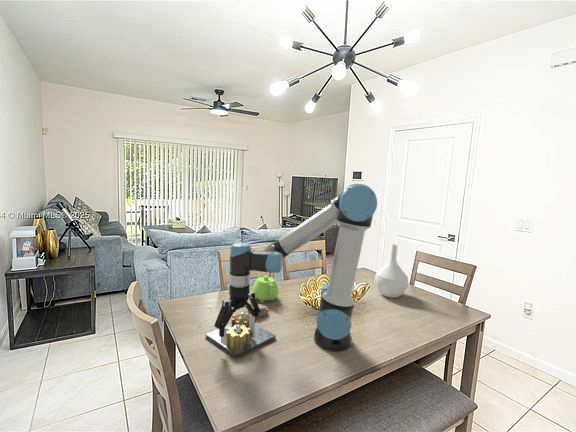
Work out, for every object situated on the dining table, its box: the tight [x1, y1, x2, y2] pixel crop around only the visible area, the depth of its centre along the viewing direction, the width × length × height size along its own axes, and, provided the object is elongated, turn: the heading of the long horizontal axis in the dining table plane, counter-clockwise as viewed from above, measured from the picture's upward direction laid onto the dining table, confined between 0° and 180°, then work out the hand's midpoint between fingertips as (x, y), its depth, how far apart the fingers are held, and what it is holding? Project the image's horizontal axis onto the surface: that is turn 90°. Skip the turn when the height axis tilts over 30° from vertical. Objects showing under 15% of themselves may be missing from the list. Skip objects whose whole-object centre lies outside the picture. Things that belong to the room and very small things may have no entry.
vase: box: [374, 244, 409, 299], centre depth 176 cm, size 18×18×30 cm
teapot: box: [252, 274, 279, 304], centre depth 163 cm, size 20×13×13 cm
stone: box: [248, 302, 270, 319], centre depth 146 cm, size 9×11×5 cm
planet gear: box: [227, 325, 250, 349], centre depth 117 cm, size 9×9×5 cm
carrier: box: [205, 311, 277, 360], centre depth 123 cm, size 20×20×8 cm
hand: (238, 337), depth 117 cm, fingers open, 13 cm apart
